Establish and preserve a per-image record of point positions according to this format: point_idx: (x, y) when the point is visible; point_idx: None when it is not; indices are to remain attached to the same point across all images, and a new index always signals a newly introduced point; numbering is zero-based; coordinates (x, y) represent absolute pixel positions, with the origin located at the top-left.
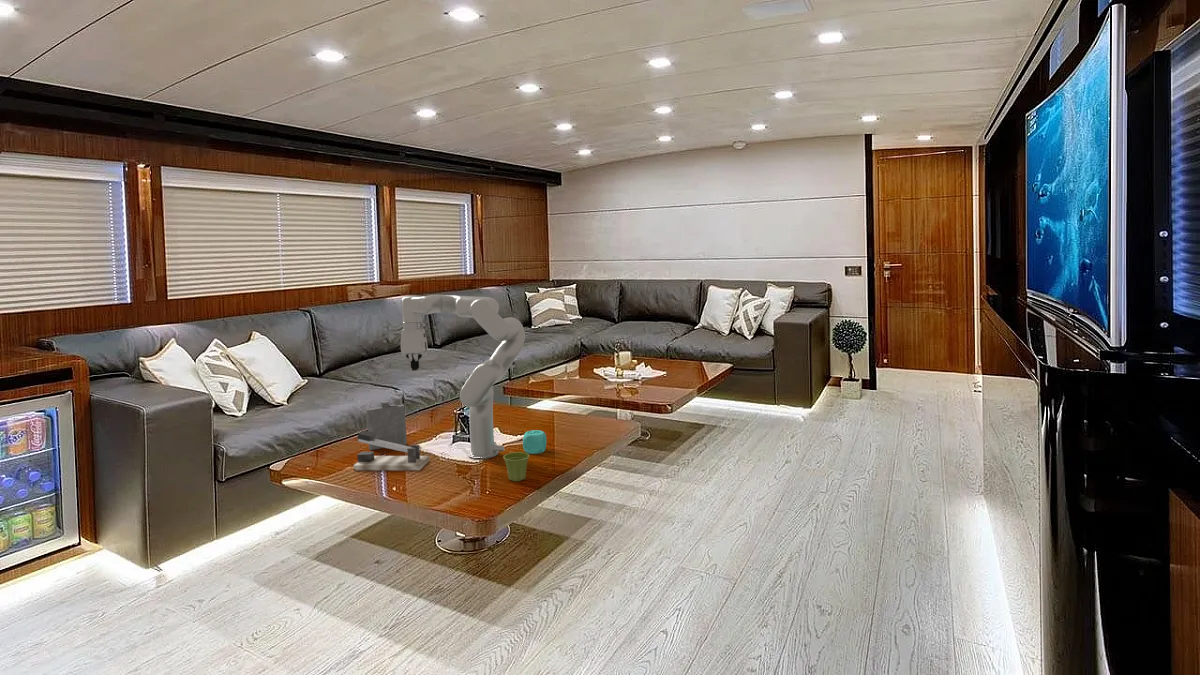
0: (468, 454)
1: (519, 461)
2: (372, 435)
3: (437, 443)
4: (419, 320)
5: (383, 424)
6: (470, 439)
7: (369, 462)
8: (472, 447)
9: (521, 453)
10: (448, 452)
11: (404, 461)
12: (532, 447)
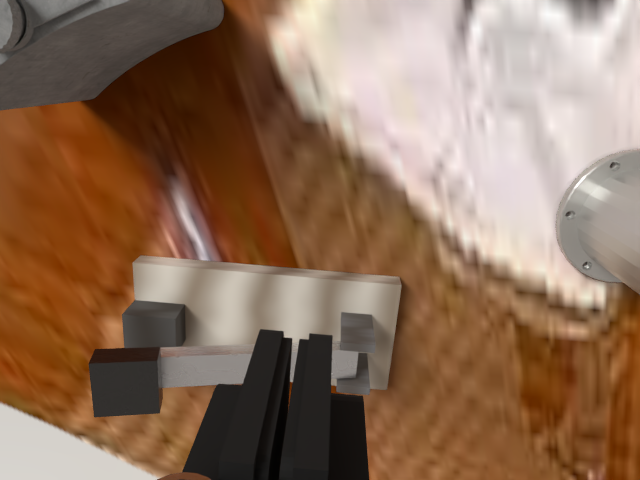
0: (565, 251)
1: None
2: (158, 391)
3: (384, 5)
4: None
5: (74, 63)
6: (609, 252)
7: (185, 343)
8: (600, 263)
9: None
10: (464, 170)
11: None
12: None
